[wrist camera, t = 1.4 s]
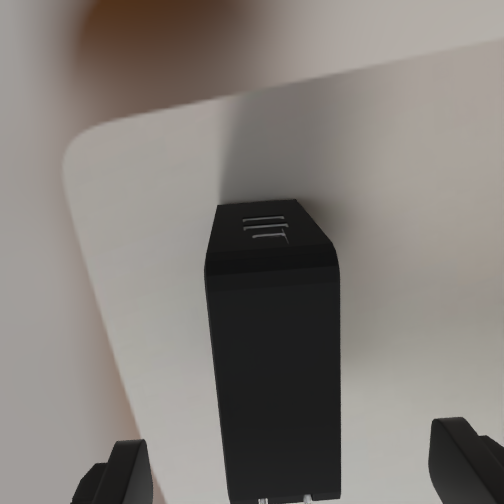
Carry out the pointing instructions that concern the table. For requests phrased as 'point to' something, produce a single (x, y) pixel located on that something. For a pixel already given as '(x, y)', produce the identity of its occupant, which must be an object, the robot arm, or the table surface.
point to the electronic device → (275, 352)
